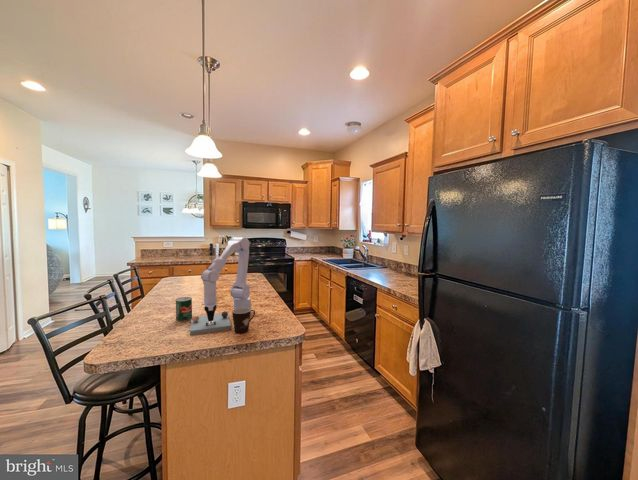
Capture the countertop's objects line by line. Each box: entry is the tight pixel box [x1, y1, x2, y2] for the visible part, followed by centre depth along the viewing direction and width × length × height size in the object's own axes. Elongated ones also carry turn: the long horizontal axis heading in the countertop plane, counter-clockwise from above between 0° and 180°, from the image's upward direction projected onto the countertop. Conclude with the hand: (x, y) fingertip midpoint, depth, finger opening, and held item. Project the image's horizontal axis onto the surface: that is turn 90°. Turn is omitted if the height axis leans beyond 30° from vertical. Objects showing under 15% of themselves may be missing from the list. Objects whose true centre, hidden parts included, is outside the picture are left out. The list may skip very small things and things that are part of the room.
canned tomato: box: [175, 296, 193, 322], centre depth 145 cm, size 8×8×11 cm
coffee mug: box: [231, 308, 256, 335], centre depth 129 cm, size 12×9×10 cm
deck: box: [189, 313, 232, 336], centre depth 136 cm, size 18×20×2 cm
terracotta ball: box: [191, 314, 199, 322], centre depth 135 cm, size 3×3×3 cm
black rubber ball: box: [221, 311, 229, 318], centre depth 142 cm, size 3×3×3 cm
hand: (210, 320), depth 135 cm, fingers closed
